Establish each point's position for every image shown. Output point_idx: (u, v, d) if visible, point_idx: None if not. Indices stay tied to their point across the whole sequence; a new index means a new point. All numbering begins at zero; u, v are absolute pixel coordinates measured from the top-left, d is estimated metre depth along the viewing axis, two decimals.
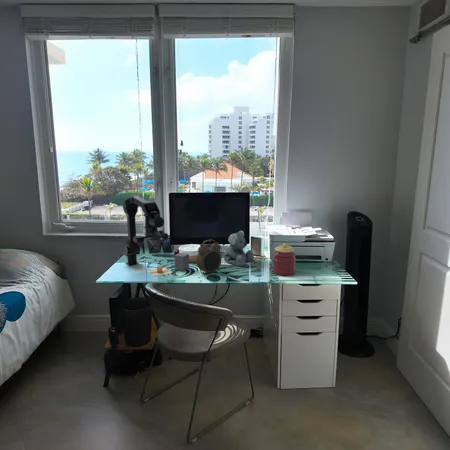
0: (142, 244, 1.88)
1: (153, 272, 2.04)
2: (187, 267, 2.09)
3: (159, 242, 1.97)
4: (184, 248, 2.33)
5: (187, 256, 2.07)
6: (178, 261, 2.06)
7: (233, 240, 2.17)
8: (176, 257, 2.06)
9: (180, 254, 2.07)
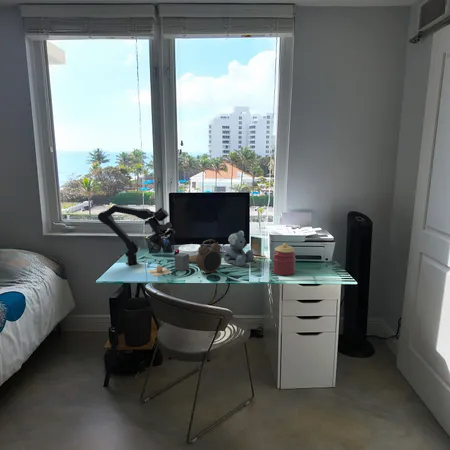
0: (159, 238, 2.05)
1: (153, 272, 2.04)
2: (187, 267, 2.09)
3: (170, 238, 2.15)
4: (184, 248, 2.33)
5: (187, 256, 2.07)
6: (178, 261, 2.06)
7: (233, 240, 2.17)
8: (176, 257, 2.06)
9: (180, 254, 2.07)
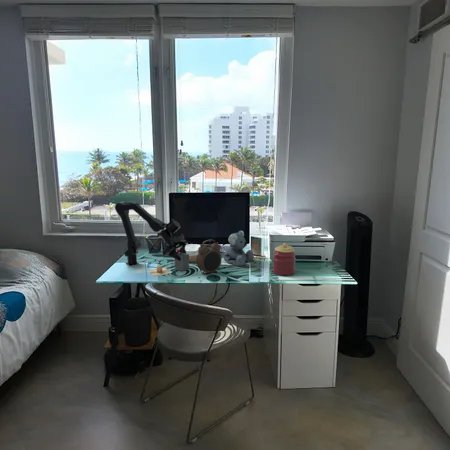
0: (174, 250, 2.03)
1: (153, 272, 2.04)
2: (187, 267, 2.09)
3: (182, 250, 2.11)
4: None
5: (187, 256, 2.07)
6: (178, 261, 2.06)
7: (233, 240, 2.17)
8: None
9: (180, 254, 2.07)
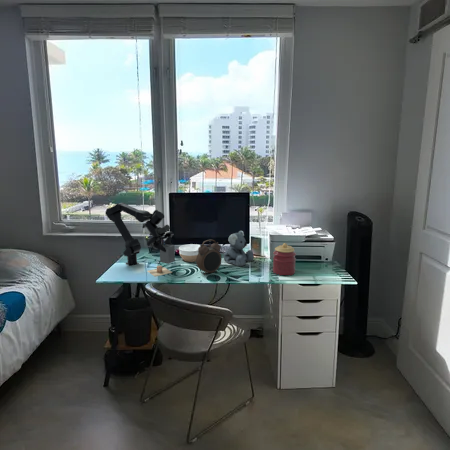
0: (159, 241, 1.99)
1: (153, 272, 2.04)
2: (172, 259, 2.05)
3: (167, 241, 2.07)
4: (184, 248, 2.33)
5: (172, 247, 2.03)
6: (163, 252, 2.01)
7: (233, 240, 2.17)
8: None
9: (165, 245, 2.03)
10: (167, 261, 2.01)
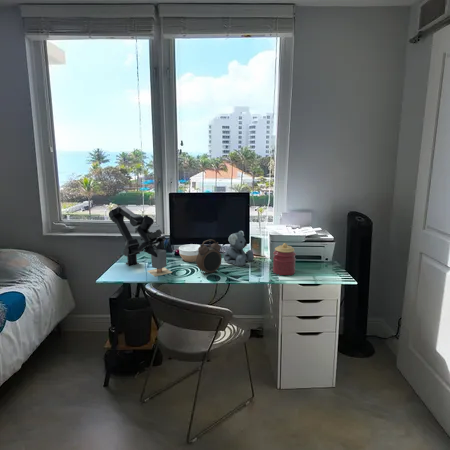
0: (151, 246, 1.98)
1: (153, 272, 2.04)
2: (164, 264, 2.03)
3: (159, 246, 2.05)
4: (184, 248, 2.33)
5: (164, 252, 2.02)
6: (154, 257, 2.00)
7: (233, 240, 2.17)
8: None
9: (157, 250, 2.02)
10: (158, 266, 2.00)
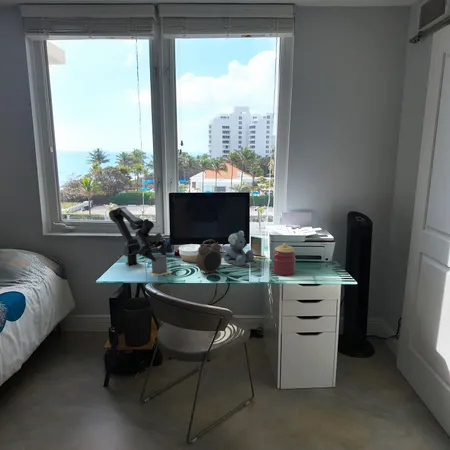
0: (149, 251, 1.97)
1: None
2: (164, 269, 2.04)
3: (161, 249, 2.07)
4: (184, 248, 2.33)
5: (164, 258, 2.02)
6: (155, 262, 2.01)
7: (233, 240, 2.17)
8: None
9: (157, 256, 2.03)
10: (159, 271, 2.01)
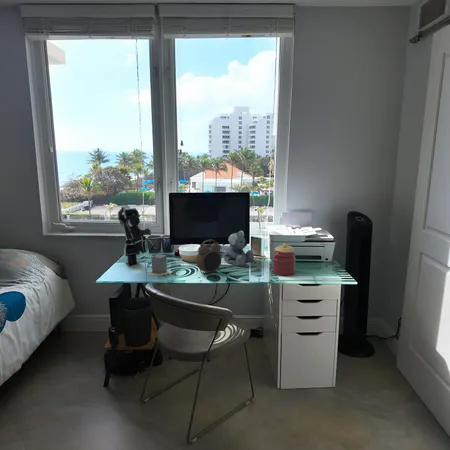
0: (142, 242, 2.01)
1: None
2: (164, 269, 2.04)
3: (142, 244, 2.12)
4: (184, 248, 2.33)
5: (164, 258, 2.02)
6: (155, 262, 2.01)
7: (233, 240, 2.17)
8: (153, 259, 2.01)
9: (157, 256, 2.03)
10: (159, 271, 2.01)
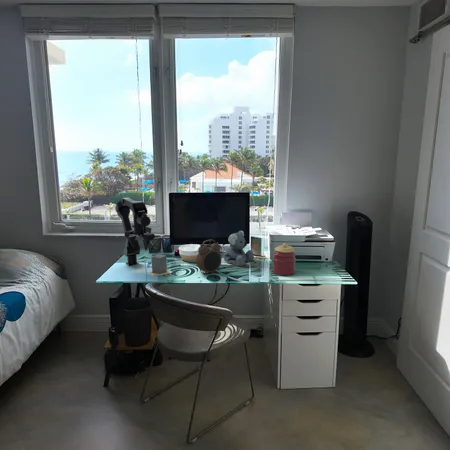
0: None
1: None
2: (164, 269, 2.04)
3: (133, 239, 2.07)
4: (184, 248, 2.33)
5: (164, 258, 2.02)
6: (155, 262, 2.01)
7: (233, 240, 2.17)
8: (153, 259, 2.01)
9: (157, 256, 2.03)
10: (159, 271, 2.01)
